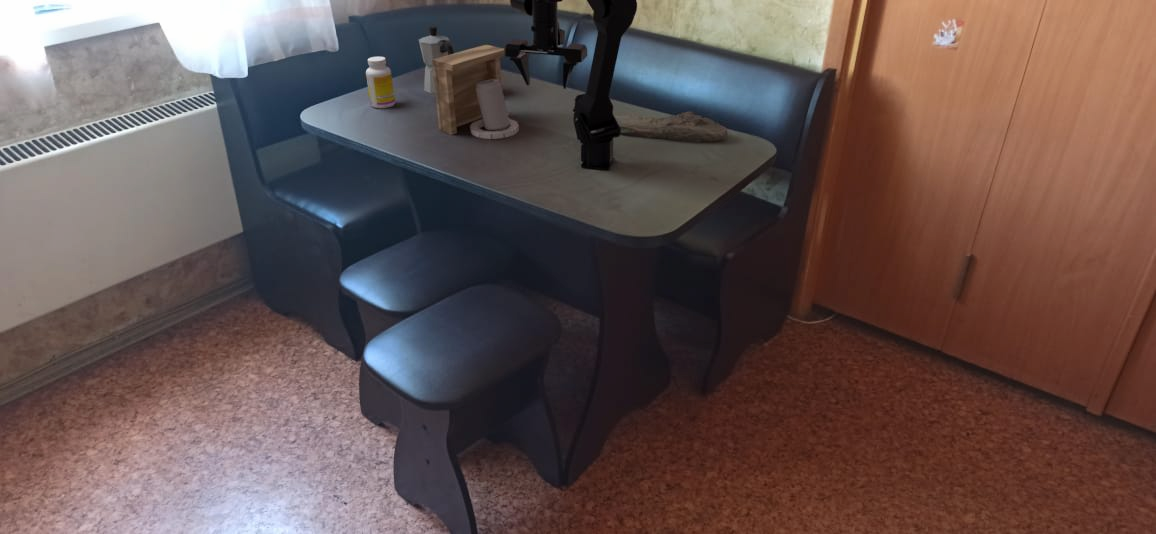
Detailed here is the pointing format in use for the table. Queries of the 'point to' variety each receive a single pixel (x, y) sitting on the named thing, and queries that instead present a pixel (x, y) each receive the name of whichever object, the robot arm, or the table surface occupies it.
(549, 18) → the robot arm
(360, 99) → the table surface
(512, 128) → the socket ring
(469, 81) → the wooden tray
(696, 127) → the elongated rock
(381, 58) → the supplement bottle
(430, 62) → the coffee maker
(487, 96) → the beverage can
